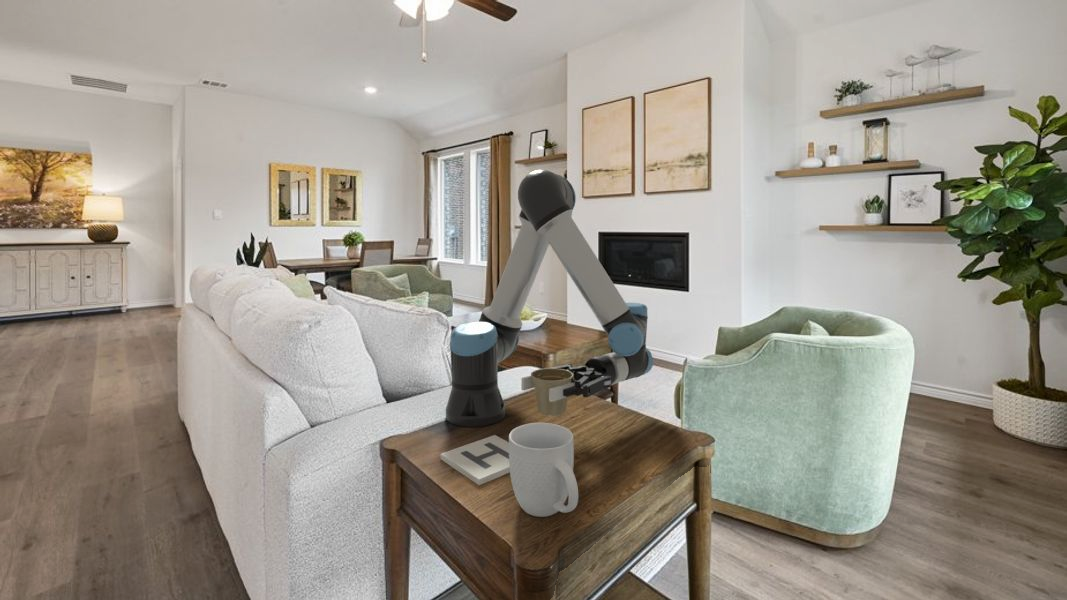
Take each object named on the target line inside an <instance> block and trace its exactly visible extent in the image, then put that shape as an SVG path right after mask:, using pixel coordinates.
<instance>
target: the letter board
mask: <svg viewBox="0 0 1067 600" xmlns="http://www.w3.org/2000/svg"><path fill="white" fill-rule="evenodd" d="M440 460H441V461H443V462H444V463H446V464H447V465H449V466H450V467H451V468H453V469H454V470H456V471H458V472H459V473H460V474H461V475H463V476H464V477H466V478H467V479H469V480H470V481H472V482H473V483H475V484H476V485H478V486H481V485H483V484H485V483H488V482H490V481H492V480H495V479H497V478H498V479H499V478H500V477H502V476H506V475H507V474H510V466H509V465H510V464H509V441H507V440H505V439H503V438H501V437H499V436H497V435H496V434H494V435H490V436H488V437H484V438H483V439H479V440H475V441H473V442H471V443H467V444H465V445H462V446H459V447H456V448H452V449H451V450H448V451H444V452H442V453H440Z"/></svg>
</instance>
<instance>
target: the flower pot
mask: <svg viewBox="0 0 1067 600" xmlns="http://www.w3.org/2000/svg"><path fill="white" fill-rule="evenodd" d="M544 368H545V369H543V368H538V369H539V370H538V369H535V370H534V371H531V373H530V376H531V377H532V378H533V382H534V384H535V388H534V390H535V397H536V405H537V412H538V413H540V415H543V416H552V417H557V416H562V415H564V414H565V413H566V411H567V406H568V405H567V404H568V399H569V397H566V398H563V399H560V400H557V401H553V402H550V401H549V389H550V388H554V387H557V386H561V385H564V384H568V383H571V379H572V378H573V374H574V373H572V372H570V371H568V370H564V369H557V368H550V367H544ZM538 375H540V376H538ZM573 379H574V378H573Z"/></svg>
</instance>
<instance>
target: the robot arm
mask: <svg viewBox="0 0 1067 600" xmlns="http://www.w3.org/2000/svg"><path fill="white" fill-rule="evenodd" d="M517 200H518V203H519V206H520V209H521V210H520V213H519V214H518V218H519V221H520V223H521V226H520V228H519V231H518V233H517V237H516V239H515V242H514V244H513V247H512V249H511V252H510V254H509V258H508V259H507V262H506V264H505V268H504V271H503V273H502V276H501V278H500V280H499V283H498V285H497V288H496V291H495V293H494V296H493V299H492V300H491V304H490V305H489V306H487V307H484V308H483V309H482V312H481V315H480V318H479V319H478V321H471V322H470V321H469V322H467V323H462V324H459V325H457V326H455V327H454V328H453V329H452V330H451V333H450V341H449V348H450V350H449V351H450V370H451V371H450V372H451V374H450V376H451V390H450V393H449V397H448V400H447V402H446V403H447V405H446V407H445V419H446V421H447V422H448V423H450V424H452V425H455V426H460V427H466V428H468V427H469V428H470V427H471V428H474V427H475V428H476V427H478V428H479V427H485V426H490V425H493V424H496V423H497V422H500V421H501V420H503V419H505V416H506V406H505V403H504V402H505V401H504V399H503V397H502V393H501V391H500V388H499V384H498V382H499V381H498V377H499V376H498V365H499V364H500V363H502V362H503V361H504V360H505V359H507V358H509V357H510V356H511V355H512V354H513V353H514V352H515V351H516V350H517V347H518V346H519V343H520V332H521V329H522V327H523V321H522V319H521V314H522V312H523V309H524V307H525V304H526V302H527V300H528V298H529V295H530V292H531V290H532V288H533V285H534V283H535V280H536V278H537V275H538V272H539V271H540V268H541V265H542V262H543V259H544V258H545V255H546V254H547V253H546V252H547V250H548V248H549V245H550V247H551V248H552V250H553V252H554V253H555V255H556V256H557V258H558V260H559V261H560V262H561V264H562V266H563V267H564V269H565V270H566V272H567V274H568V275H569V277H570V278H571V280H572V282H573V283H574V285H575V286H576V289H578V291H579V292H580V294H581V295H582V298H583V299H584V301H585V303H587V305H588V306H589V308H590V310H591V311H592V313H593V314H594V317H596V319H597V321H598V322H599V324H600V325H601V327H602V329H603V330H604V332H605V333H606V335H607V337H608V344H609V347H610V349H611V350H612V352H609V353H606V354H602V355H598V356H594V357H590V358H589V359H588V360H587V361H586V362H585V364H584V365H579V366H573V364H572V363H567V364H564V365H557V366H552V367H549V368H557V369H564V370H568V371H570V372H572V373H573V378H572V379H571V383H568V384H564V385H561V386H557V387H554V388H550V389H549V401H550V402H553V401H557V400H560V399H563V398H566V397H568V398H569V397H573V396H577V397H579V396H581V395H582V397H583V398H589V397H591V396H593V395H595V394H596V393H599V392H600V391H603V390H605V389H610V388H611V386H614V385H615V384H618V383H620V382H624V381H628V380H632V379H634V378H635V379H636V378H640V377H641V376H644V375H646V374H648V373H649V372H651V370H652V368H653V366H654V358H653V356H652V353H651V351H650V350H649V348H647V344H646V343H647V334H648V333H647V329H648V319H649V316H648V307H647V305H645V304H644V303H640V302H639V303H638V302H626V301H625V300H624V298H623V297H622V295H621V293H620V292H619V290H618V288H617V287H616V285H615V284H614V281H612V279H611V277H610V276H609V275H608V273H607V271H606V270H605V268H604V267H603V265H602V264H601V262H600V260H599V259H598V257H597V255H596V253H595V252H594V251H593V249H592V248H591V246H590V245H589V243H588V241H587V240H586V237H584V234H583V233H582V231H580V229H579V227H578V226H577V224H576V222H575V220H574V219H573V217H572V216H573V210H574V208H575V205H576V201H577V197H576V192H575V189H574V187H573V184H572V183H571V182H570V181H569V180H568V179H567V178H566V177H564V176H563V175H561V174H557V173H554V172H553V171H550V170H547V169H538V170H537V169H536V170H534V171H532V172H530V173H528V174H526V175H525V177H523V179H522V180H521V182H520V183H519V186H518V189H517ZM545 368H546V367H544V368H542V369H545ZM539 369H540V368H538V369H537V370H539ZM538 376H540V375H538ZM520 388H521V391H527V390H531V389H535V384H534V382H533V378H532V377H531V375H528V376H524V377H521V387H520Z"/></svg>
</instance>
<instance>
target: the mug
mask: <svg viewBox="0 0 1067 600" xmlns="http://www.w3.org/2000/svg"><path fill="white" fill-rule="evenodd" d="M508 442H509V464H510V465H509V466H510V473H509V475H510V480H511V486H512V490H513V493H514V496H515V498H516V501H517V502H518V504H519V506H520V507H521V509H522V510H523V511H524V512H525V513H526V514H528V515H531V516H533V517H539V518H545V517H550V516H553V515H555V514H557V513H558V512H560V513H564V514H565V513H570V512H572V511H574V510H575V509H576V507H577V505H578V503H579V488H578V483H577V479H576V475H575V473H574V466H575V465H574V461H575V459H574V458H575V456H574V453H575V451H574V435H573V432H572V431H571V430H570V429H568V428H567V427H566V426H563V425H561V424H560V425H559V424H555V423H551V422H530V423H526V424H523V425H522V424H521V425H519V426H517V427H515V428H513V429H512V430H510V433H509V435H508ZM567 498H568V499H567ZM566 500H568V502H567V505H565V503H566Z"/></svg>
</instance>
